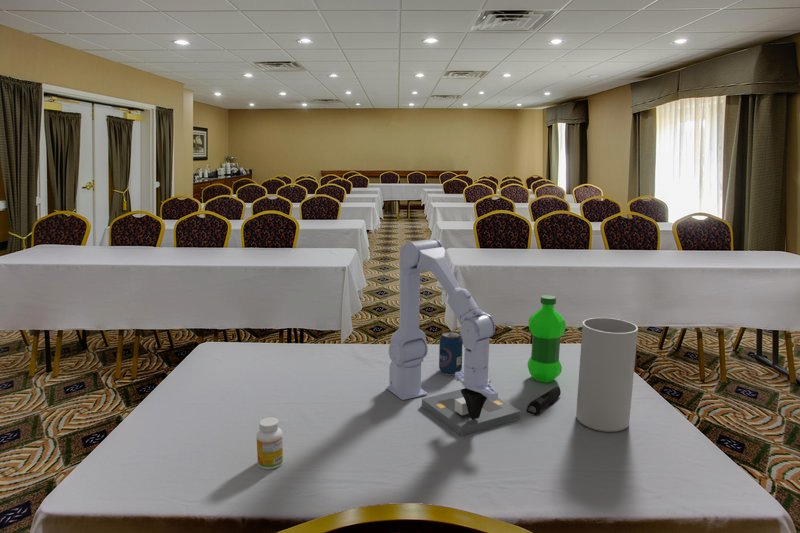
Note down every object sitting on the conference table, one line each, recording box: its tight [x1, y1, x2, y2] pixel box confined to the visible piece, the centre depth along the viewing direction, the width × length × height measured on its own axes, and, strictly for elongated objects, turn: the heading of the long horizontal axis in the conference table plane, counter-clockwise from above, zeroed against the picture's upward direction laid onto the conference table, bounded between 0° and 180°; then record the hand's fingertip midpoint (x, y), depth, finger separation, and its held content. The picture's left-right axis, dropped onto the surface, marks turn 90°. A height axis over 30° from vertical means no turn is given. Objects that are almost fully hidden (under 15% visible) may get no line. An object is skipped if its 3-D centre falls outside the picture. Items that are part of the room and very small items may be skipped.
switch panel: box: [421, 388, 521, 436], centre depth 146 cm, size 18×18×2 cm
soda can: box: [438, 330, 463, 376], centre depth 172 cm, size 7×7×12 cm
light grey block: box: [455, 397, 469, 415], centre depth 141 cm, size 3×4×3 cm
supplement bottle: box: [256, 417, 284, 470], centre depth 121 cm, size 5×5×10 cm
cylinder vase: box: [575, 317, 639, 433], centre depth 139 cm, size 12×12×25 cm
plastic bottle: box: [527, 294, 567, 383], centre depth 165 cm, size 10×10×25 cm
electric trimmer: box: [525, 386, 562, 416], centre depth 151 cm, size 4×16×3 cm, turn 140°
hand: (474, 417), depth 138 cm, fingers closed
